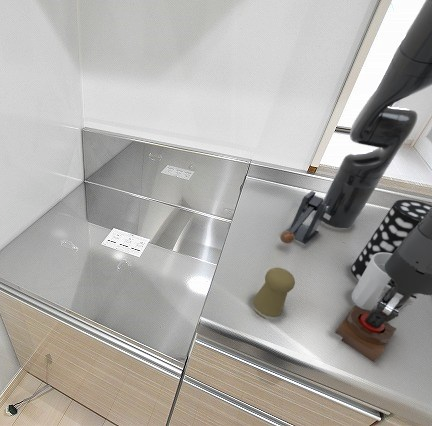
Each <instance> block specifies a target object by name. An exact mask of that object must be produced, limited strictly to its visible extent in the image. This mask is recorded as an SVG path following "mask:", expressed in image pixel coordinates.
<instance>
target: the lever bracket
mask: <svg viewBox="0 0 432 426" xmlns="http://www.w3.org/2000/svg"><path fill="white" fill-rule="evenodd" d="M314 196H316V191H313V190H311V191H309V192H308V193H307V194H305V195H303V197H302V199H301V203H300V205H299V206H298V209H297V212H296V214H295V216H294V218H293V221H292V222H291V225H290V227H289V228H287V229H286V230H285V231H290V229H291V228H292V227H293V226H294V224H295V223H296V222H297V221H298V220H299V218H300V217H301V216H302V215H303V214H304V212H305V211H306V210H307V209H308V203H309V202H310V200H311V199H312V198H313V197H314ZM323 200H324V199H323ZM331 201H332V199H331V198H329V197H328V198H327V199H326V200H324V201H323V202H322V203H321V204H320V206H319V208H318V210H317V211H315V213H314V216H313V217H312V220H311V222H310V224H309V225H306V224H304V223H302V225H301V226H300V227H299V228H298V230H297V231H296V232H295V233H294V236H295V239H294V240H296V241H298V242H299V243H302V244H304V245H307V244H308V243H309V242H310V241H311V240H313V239H314V238H315V237H316V236H317V235H319V233H320V230H318V228H319V226H320V224H321V222H322V221H321V220H322V218H323V216H324V214H325V212H326V211H327V210H328V209H329V205H330V203H331Z"/></svg>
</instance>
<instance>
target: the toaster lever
mask: <svg viewBox="0 0 432 426" xmlns="http://www.w3.org/2000/svg"><path fill="white" fill-rule="evenodd" d="M323 200H324V198H322V197H319V196H317V195H314V197H313V198H312V199H311V200H310V202H309V203H308V209H307V210H306V211H305V212H304V214H303V215H302V216H301V217H300V218H299V220H298V221H297V222H296V223H295V224H294V226H293V227H292V228H291V229H290V231H286V230H285V231H283V232H281V234H280V236H279V238H280V241H281V242H282V243H284V244H288V245H289V244H292V243H293V242H294V241H295V240H296V239H295V236H294V233H295V232H296V231H297V230H298V228H299V227H300V226H301V225H302V224H304V223H305V221H306V220H307V219H308V218H309V216H310V215H311V214H312V213H313V211H314V212H317V210H318V208H319V206H320V204H321V203H322V202H323Z"/></svg>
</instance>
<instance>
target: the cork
mask: <svg viewBox="0 0 432 426" xmlns="http://www.w3.org/2000/svg"><path fill="white" fill-rule="evenodd" d="M295 285H296V280H295V277H294V275H293V274H292V273H291V272H290V271H289V270H288V269H285V268H282V267H273V268H270V269H269V270H268V271H266V273H265V276H264V283H263V285H262V286H261V287H260V289H259V291H258V292H257V293H256V294H255V296H254V298H253V300H252V304H253V306H254V308H255V309H254V308H253V309H252V310H253V312H254V313H255V314H256V315H257V316H259V317H260V318H262V319H264V320H267V318H266V317H268V318H277V317H279V316H280V315H282V314H283V313H282V312H283V310H284V307H285V303H286V298H287V297H288V293H289V292H291V291H292V290H293V289H294V287H295ZM263 315H264V316H263Z"/></svg>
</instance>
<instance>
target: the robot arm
mask: <svg viewBox="0 0 432 426" xmlns="http://www.w3.org/2000/svg"><path fill="white" fill-rule="evenodd" d="M431 86H432V0H425V1H424V3H423V4H422V6H421V8H420V9H419V12H418V14H417V15H416V16H415V18H414V20H413V22H412V23H411V25H410V26H409V28H408V30H407V32H406V33H405V35H404V37H403V38H402V40H401V41H400V43H399V44H398V47H397V48H396V50H395V52H394V53H393V55H392V57H391V59H390V61H389V64H388V65H387V67H386V69H385V71H384V73H383V75H382V77H381V79H380V81H379V82H378V84H377V85H376V88H375V89H374V91H373V92H372V94H371V96H370V97H369V98H368V100H367V101H366V103H365V104H364V106H363V107H362V109H361V110H360V112H359V113H358V115H357V116H356V118H355V119H354V122H353V124H352V126H351V127H350V131H349V138H350V141H351V142H353V143H355V144H359V145H363V146H369V147H375V148H376V149H373V150H369V151H362V152H361V151H360V152H353V153H349V154H347V155H346V156H344V158H343V159H342V161H341V163H340V166H339V168H338V169H337V171H336V174H335V176H334V177H333V179H332V181H331V184H330V185H329V188H328V190H327V192H326V194H325V196H324V198H323V201H324V200H326V199H327V198H328V197H329V198H331V199H332V201H331V203H330V205H329V209H328V210H327V211H326V212H325V214H324V216H323V218H322V220H321V222H322V223H323V224H325V225H327V226H329V227H332V228H336V229H343V230H346V229H351V228H352V227H354V225H355V223H356V221H357V219H358V217H359V216H360V215H361V213H362V211H363V210H364V208H365V206H366V204H367V203H368V201H369V199H370V198H371V196H372V194H373V193H374V191H375V190H376V188H377V187H378V184H379V183H380V181H381V179H382V177H384V175H385V174H386V171H387V170H388V169H389V167H390V165H391V164H392V163H393V161H394V159H395V157H396V156H397V154H398V152H399V151H400V150H401V149H402V147H403V146H404V144H405V142H406V141H407V139H408V138H410V135H411V134H412V132H413V130H414V129H415V127H416V124H417V123H418V112H416V111H415V110H412V109H407V108H399V107H392V105H393V104H395V103H397V102H399V101H401V100H403V99H406V98H408V97H410V96H412V95H415V94H418V93H419V92H421V91H423V90H425V89H428V88H429V87H431ZM385 271H386V273H387V275H388V276H389V277H390V280H389V281H388V283H387V284H386V286H385V287H384V288H383V291H382V293H381V295H380V296H379V297H378V298H377V300H376V301H377V305H376V306H374V307H373V309H372V312H371V313H370V314H369V315H368V317H367V318H366V319H365V321H366V322H367V323H368V324H370V325H372V326H373V327H375V328H379V327H380V326H381V325H382V324H383V323H384V322H385V321H387V322H388V323H389V322H391V321H392V320H394V319H395V318H398V317H399V314H401V313H402V312H403V311H404V310H405V308H407V307H408V306H411V305H412V304H413V303H414V302H416V300H417V299H418V296H419V294H420V295H424V296H432V207H431V208H430V209H429V211H428V212H427V213H426V215H425V216H424V217H423V219H422V220H421V221H420V222H419V224H418V225H417V226H416V227H415V228H414V229H413V230H412V231H411V232H410V233H409V234H408V235H407V236H406V237H405V238H404V240H403V241H402V242H401V244H400V245H399V246H398V248H397V249H396V250H395V251H394V253H393V254H392V255H391V257H390V258H389V259H388V261H387V262H386V263H385Z"/></svg>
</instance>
